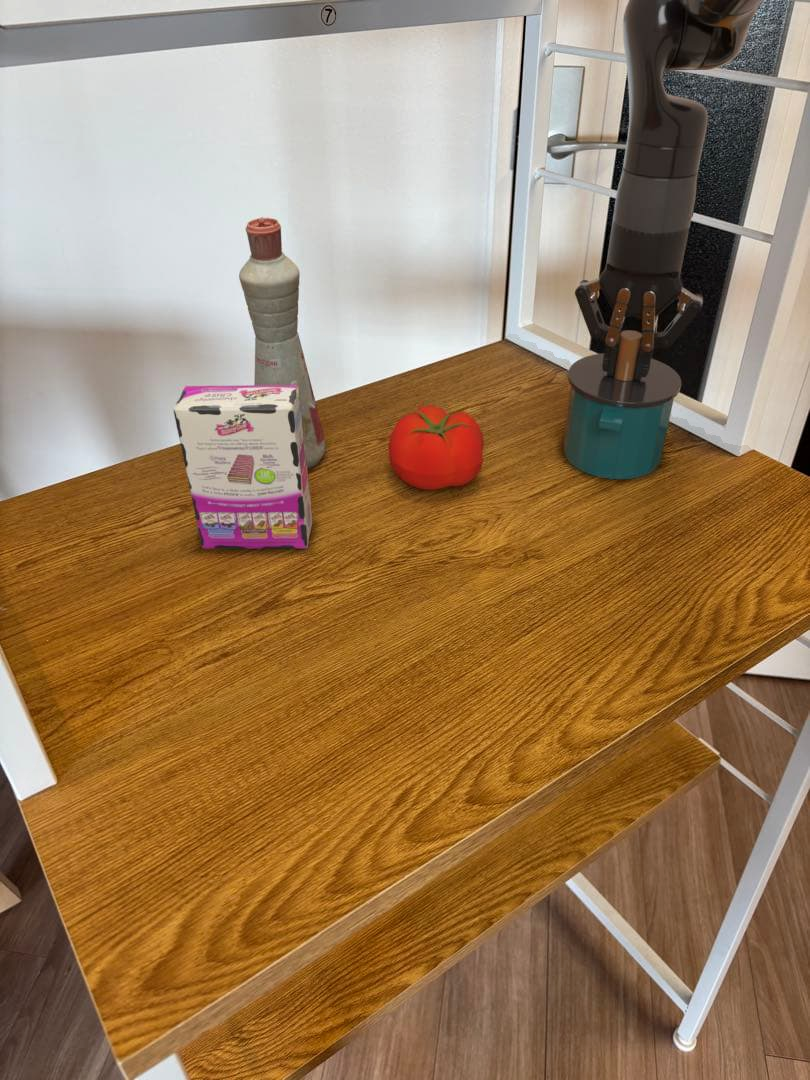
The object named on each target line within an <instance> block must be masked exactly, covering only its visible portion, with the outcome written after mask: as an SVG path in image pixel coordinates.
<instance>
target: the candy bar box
mask: <svg viewBox="0 0 810 1080" xmlns="http://www.w3.org/2000/svg"><path fill="white" fill-rule="evenodd" d="M173 416H174V420H175V424H176V425H175V426H176V430H177V435H178V439H179V443H180V448H181V452H182V458H183V463H184V467H185V472H186V477H187V482H188V486H189V491H190V495H191V500H192V506H193V511H194V515H195V520H196V525H197V531H198V535H199V541H200V545H201V548H202V549H205V550H249V549H250V550H276V549H277V550H278V549H280V550H281V549H282V550H284V549H285V550H288V549H292V550H293V549H295V550H296V549H301V550H303V549H304V550H305V549H308V547H309V543H310V536H311V532H312V527H313V521H314V520H313V511H312V501H311V492H310V491H311V490H310V482H309V475H308V473H309V472H308V469H307V462H306V453H305V445H304V434H303V425H302V415H301V406H300V395H299V388H298V385H250V384H249V385H247V384H246V385H185V386H184V388H183V389H182V392H181V394H180V396H179V398H178V400H177V401H176V404H175V405H174V407H173Z"/></svg>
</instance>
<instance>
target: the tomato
mask: <svg viewBox="0 0 810 1080" xmlns="http://www.w3.org/2000/svg"><path fill="white" fill-rule="evenodd" d="M412 410H413V411H414V412H413V413H412V414H405V415H403V417H401V418H399V420H397V423H395V425H394V427H393V429H392V431H391V433H390V435H389V440H388V448H387V449H388V458H389V464H390V466H391V467H392V469H393V470H394V472H395V473H396V475H397V476H398V478H400V480H402V481H403V482H405V483H406V484H407V485H409V486H411V487H413V488H414V487H415V488H416V489H419V490H428V491H434V490H439V489H444V488H446V487H452V488H453V487H454V488H455V487H456V488H457V487H460V486H461V487H462V486H464V485H466V484H468V483H470V482H471V481H472V480H473V479H475V478H476V477H477V476H478V474H479V472H480V471H481V470H482V465H483V462H484V457H483V451H484V447H485V442H484V435H483V432H482V430H481V426H480V425H479V424H478V423H477V422H476V420H475V419H474V418H473V417H472V416H471V415H470V414H469V413H466V412H462V411H459V412H455V413H453V414H451V413H447V412H446V411H445V410H444V409H443V408H441V407H438V406H434V405H424V406H419V407H418V408H417V409H412Z"/></svg>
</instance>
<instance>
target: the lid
mask: <svg viewBox="0 0 810 1080" xmlns="http://www.w3.org/2000/svg"><path fill="white" fill-rule="evenodd" d="M641 343H642V332H640V331H637V330H631V329H629V330H628V329H627V330H621V333H620V336H619V344H618V345H619V346H618V352H617V358H616V364H615V370H614V376H613V377H607V372H606V371H603V368H602V364H603V357H604V352H603V353H597V354H595V353H594V354H590V355H587V356H585V357H582V358H580V359H578V360H576V361H575V362H573V363H572V364H571V366H569V368H568V372H567V381H568V383H569V385H570V387H572V388H573V389H574V390H575V391H576V392H578V393H579V394H581V395H582V396H584V397H586V398H588V399H591V400H593V401H596V402H599V403H602V404H606V405H611V406H617V407H627V408H643V407H652V406H657V405H661V404H664V403H666V402H669V401H670V400H672V399H674V400H675V398H676V397H677V396H678V395H679V393H680V391H681V389H682V388H681V387H682V380H681V379H682V378H681V377H680V375H679V373H678V372H676V370H675V369H673V368H672V367H670V366H669V365H667V364H666V363H663V362H661V361H659V360H657V359H655V358H651V364H650V369H649V372H648V374H647V376H646V377H641V380H640V382H638V381H634V375H635V369H636V363H637V358H638V352H639V349H640V348H641Z"/></svg>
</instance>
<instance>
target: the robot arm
mask: <svg viewBox="0 0 810 1080" xmlns="http://www.w3.org/2000/svg"><path fill="white" fill-rule="evenodd" d="M763 1H764V0H628V1H627V4H626V6H625V9H624V14H623V19H622V41H623V50H624V57H625V58H624V59H625V64H626V74H627V83H628V103H629V104H628V105H629V106H628V107H629V109H628V112H629V114H628V115H629V118H628V119H629V120H628V130H627V138H626V144H625V151H624V159H623V165H622V170H621V175H620V177H619V178H620V179H619V182H618V186H617V190H616V195H615V200H614V201H615V202H614V207H613V214H612V215H613V216H612V222H611V229H610V235H609V243H608V249H607V256H606V264H605V268H604V269H603V270H602V272H601V274H600V276H599V277H597V278H594V279H593V280H587V279H583V280H581V281H580V282H579V284H578V285H577V287H576V289H575V290H574V295H575V298H576V301H577V304H578V306H579V310H580V311H581V314H582V317H583V320H584V322H585V325H586V328H587V330H588V333H589V336H590V337H591V338H592V339H594V340H597V339H598V340H600V341H602V342H603V343H604V351H603V353H604V357H603V364H602V368H603V371H606V372H607V377H613V376H614V370H615V364H616V358H617V352H618V346H619V345H618V344H619V338H620V333H621V332H622V329H623V326H624V323H625V319H626V318H633V317H634V318H637V319H639V320H642V321H641V323H642V325H641V334H642V343H641V348H640V349H639V352H638V358H637V363H636V369H635V375H634V381H638V382H640V380H641V377H646V376H647V374H648V372H649V369H650V364H651V359H653V352H654V351H655V350H656V349H664V350H667V349H669V348H671V347H672V346H673V344H674V343H675V342H676V341H677V339H678V338H679V337H680V336H681V335H682V334H683V332H684V331H685V330H686V329H687V327H688V326H689V325H690V323H691V322H692V321H693V320H694V319H695V318H696V316H697V315H698V314H699V313H700V312H701V310H702V306H703V302H704V297H703V295H702V294H699V293H695V294H694V293H692V292H691V291H689V290H688V289H687V288H685V287H684V280H683V277H682V267H683V262H684V258H685V257H684V256H685V253H686V252H685V251H686V247H687V243H688V237H689V233H690V228H691V223H692V219H693V217H694V212H695V207H694V206H695V202H696V196H697V180H698V174H699V168H700V163H701V158H702V153H703V147H704V143H705V139H706V133H707V127H708V120H709V119H708V118H709V115H708V111H707V108H706V107H705V105H703V104H702V103H701V102H698V101H696V100H694V99H690V98H685V97H680V96H678V95H677V96H676V95H672V94H670V93H667V91H666V89H665V86H664V83H663V73H664V71H708V70H714V69H718V68H720V67H723V66H725V65H727V64H729V63H730V62H731V61H733V60H734V59H735V58H736V57H737V56H738V55H739V54H740V52H741V51H742V49H743V46H744V44H745V41H746V40H747V36H748V32H749V29H750V26H751V25H752V23H753V20H754V17H755V15H756V13H757V11H758V9H759V7H760V4H761V3H762V2H763ZM600 290H601V291H602V293H603V294H604V296H605V299H606V300H607V302H608V304H609V305H610V307H611V309H612V310H613V312H612V315H611V319H610V322H609V325H608V324H606V323H605V321H604V317H603V315H602V312H601V310H600V306H599V304H598V302H597V300H598V298H599V297H600ZM676 299H677V300H678V303H677V307H676V311H677V314H676V315H675V317H674V318H673V320H671V322H670V323H669V324H668V325H667V327H666V328H665V329H664V330H663V331H659V332H658V331H657V329H658V320H659V315H660V314H661V313H662V312H663V311H664V310H665V309H666V308H667V307H669V305H671V304H672V303H673V302H674V301H675V300H676Z"/></svg>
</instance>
